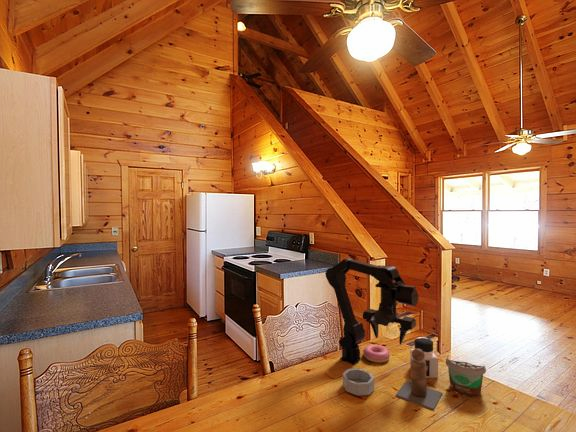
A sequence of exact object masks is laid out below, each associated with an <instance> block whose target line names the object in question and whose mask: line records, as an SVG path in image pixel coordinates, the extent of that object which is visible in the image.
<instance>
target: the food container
mask: <svg viewBox="0 0 576 432" xmlns="http://www.w3.org/2000/svg"><path fill="white" fill-rule="evenodd" d="M445 364H446V366H447V370H448V379H449V380H448V381H449V386H450V388H451V390H452V391H453V392H455V393H456V392H457V394H458V393H459V395H460V394H461V396H463V395H464V397H468V398H476V397H479V396H480V395H481V393H482V385H483V378H484V375H485V374H486V373H487V368H486V365H483V366H482V365H477V364H473V363H470V362H467V361H459V360H458V361H457V360H451V359H449V357H448V356H447V357H446V359H445Z"/></svg>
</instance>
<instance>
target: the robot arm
mask: <svg viewBox="0 0 576 432" xmlns="http://www.w3.org/2000/svg"><path fill="white" fill-rule="evenodd" d="M349 271H354V272H357V273H361V274H365V275H367V276H370V277H373V278H374V279H375V280H377V281H378V282H377V283H376V284H375V285H374V287H376V288H380V302H379V303H378V308H377V309H374V308H373V309H372V308H368V309H366V310H365V311H363V312H362V319H363V320H365V322H367V323H368V324H369V325H370V327H371V328H372V330H373V334H374V337H375V339H378V338H379V326H383V327H388V326H389V324H394V323H396V324H399V326H400V327H399V345H402V344H403V341H404V339H405V336H406V334H407V332H409V331H411V330H413V329H414V328H415V327H417V320H416V318H415V317H412V316H403V317H402V318H401V317H398V314H399V312H397V306H398V304H402V305H403V304H404V305H407V306H412V307H416V306H417V305H418V303H419V302H418V301H419V293H418V291H417V288H416V287H417V286H415V285H406V283H405V281H404V280H403V278H402V277H401V276H400V274H399V270H398V268H397V267H396V266H393V265H375V264H372V263H370V262H369V263H367V262H365V261H361V260H357V259H354V258H351V257H348V258H344V259H342V260H341V261H340V262H338V263H336V264H335V265H334V266H332V267H328V268H327V269H326V271H325V278H326V280H327V282H328V284H329V285H330V286H331V287H332V288H333V290H334V293H335V296H336V297H335V298H336V301H337V302H338V305H339V310H340V313H341V317H342V319H343V327H342V328H343V330H342V331H343V337H342V338H340V339H339V340H338V343H339V347H341V357H340V360H341V361H344V362H345V363H349V364H352V365H354V364H356V363H357V362H358V361H360V360H361V358H362V357H361V349H360V345H359V344H361V343H362V341H364V339H365V336H366V335H365V334H366V330H365V328H364V325H363V322H358V320H357V319H356V316H355V313H354V310H353V306H352V303H351V301H350V300H351V299H350V298H349V295H348V291H347V288H346V281H347V276H346V274H347V273H348V272H349Z"/></svg>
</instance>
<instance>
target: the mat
mask: <svg viewBox="0 0 576 432" xmlns="http://www.w3.org/2000/svg"><path fill="white" fill-rule="evenodd" d="M426 388H427V395H426V397H423V398H420V397H416V396H414V395H413V394H412V393H411V380H410V381H409V380H405V382H404V383H403V384H402V386H401V387H400V388H399V390H398V391H397V392H396V393H395V396H396V397H398V398H401V399H402V400H406V401H408V402H411V403H413V404H416V405H418V406H421V407H423V408H427V409H429V410H431V411H435V410H436V409H435V408H436V407H437V405H438V403H439V401H440V399H441V398H442V396H443V392H442V391H439V390H436V389H434V388H430V387H427V386H426Z"/></svg>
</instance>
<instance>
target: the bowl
mask: <svg viewBox="0 0 576 432" xmlns="http://www.w3.org/2000/svg"><path fill="white" fill-rule="evenodd" d="M342 386H343V388H344V390H345V391H346V392H348V393H350V394H352V395H355V396H370V394H372V393H373V391H375V377H374V376H373V375H372V373H371V372H370V371H369V370H365V369H361V368H348V369H346V370H345V371H344V372H343V373H342Z"/></svg>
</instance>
